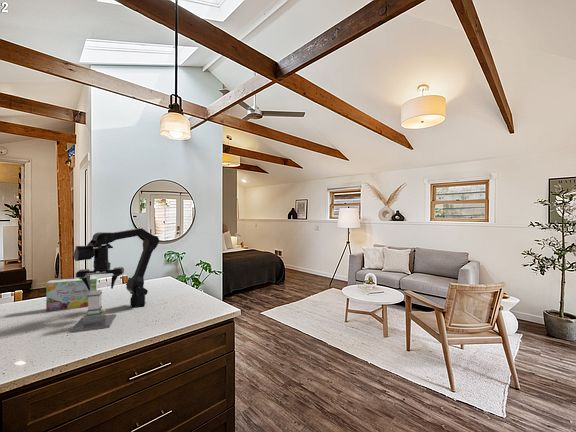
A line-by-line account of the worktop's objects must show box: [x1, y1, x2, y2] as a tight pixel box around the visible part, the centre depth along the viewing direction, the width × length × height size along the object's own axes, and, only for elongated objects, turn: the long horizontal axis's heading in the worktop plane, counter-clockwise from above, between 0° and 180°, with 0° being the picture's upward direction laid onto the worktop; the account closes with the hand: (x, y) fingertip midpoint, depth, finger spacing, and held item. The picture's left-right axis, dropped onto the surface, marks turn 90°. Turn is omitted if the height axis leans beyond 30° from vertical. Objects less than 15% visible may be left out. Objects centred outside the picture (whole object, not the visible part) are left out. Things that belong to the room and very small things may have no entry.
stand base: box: [69, 308, 117, 333], centre depth 120 cm, size 14×14×6 cm
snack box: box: [45, 276, 99, 312], centre depth 141 cm, size 21×6×15 cm, turn 117°
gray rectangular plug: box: [87, 289, 103, 315], centre depth 120 cm, size 4×4×10 cm
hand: (101, 289), depth 129 cm, fingers open, 9 cm apart
